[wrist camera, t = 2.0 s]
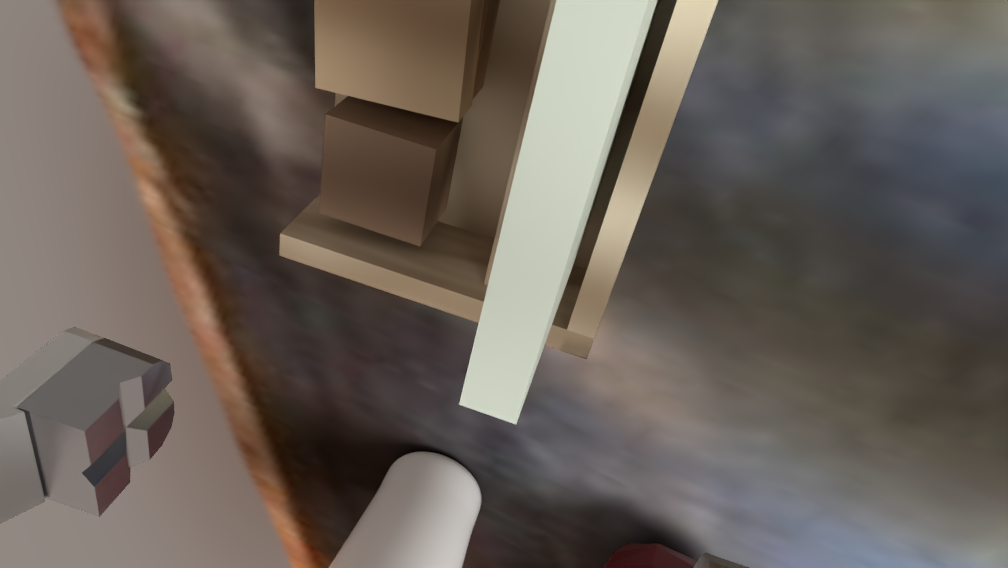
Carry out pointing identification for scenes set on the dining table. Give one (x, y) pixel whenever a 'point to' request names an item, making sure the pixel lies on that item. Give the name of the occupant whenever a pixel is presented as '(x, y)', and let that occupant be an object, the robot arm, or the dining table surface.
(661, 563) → the heart
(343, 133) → the offcut small
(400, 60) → the offcut top
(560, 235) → the sheet
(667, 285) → the dining table surface
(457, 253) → the rack
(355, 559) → the drinking glass
